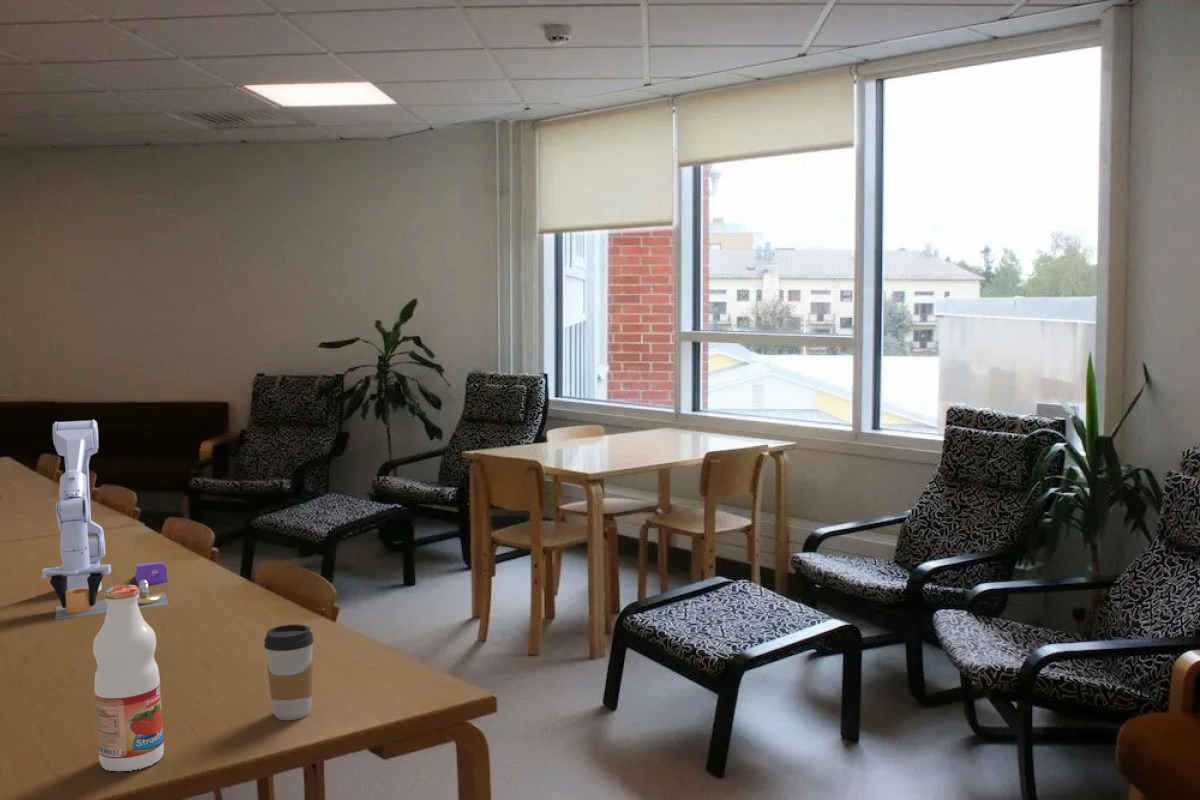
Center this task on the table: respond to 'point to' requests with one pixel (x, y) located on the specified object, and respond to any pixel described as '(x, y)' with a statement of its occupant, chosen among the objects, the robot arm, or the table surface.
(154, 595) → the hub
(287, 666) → the coffee cup
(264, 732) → the table surface
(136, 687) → the fruit juice
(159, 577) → the bracket
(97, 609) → the board
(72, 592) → the sleeve
